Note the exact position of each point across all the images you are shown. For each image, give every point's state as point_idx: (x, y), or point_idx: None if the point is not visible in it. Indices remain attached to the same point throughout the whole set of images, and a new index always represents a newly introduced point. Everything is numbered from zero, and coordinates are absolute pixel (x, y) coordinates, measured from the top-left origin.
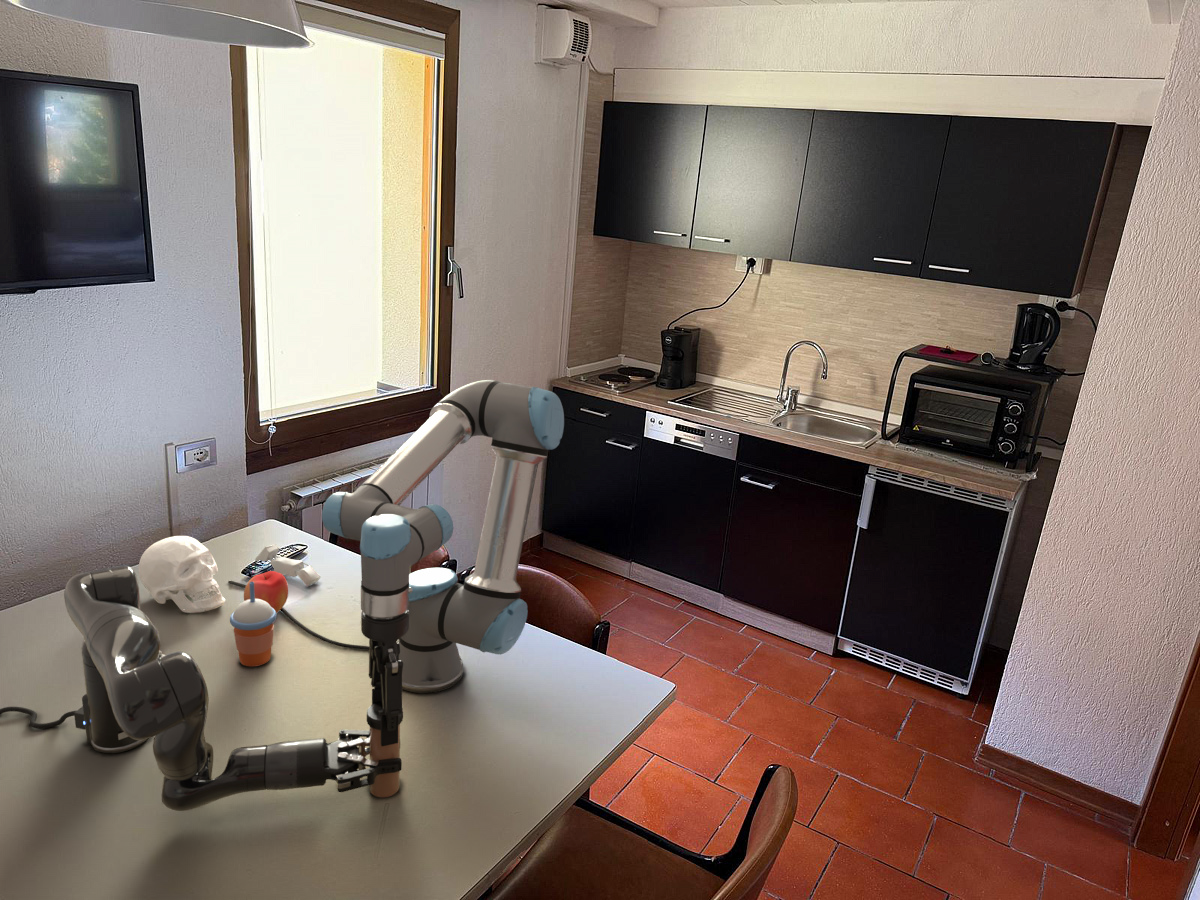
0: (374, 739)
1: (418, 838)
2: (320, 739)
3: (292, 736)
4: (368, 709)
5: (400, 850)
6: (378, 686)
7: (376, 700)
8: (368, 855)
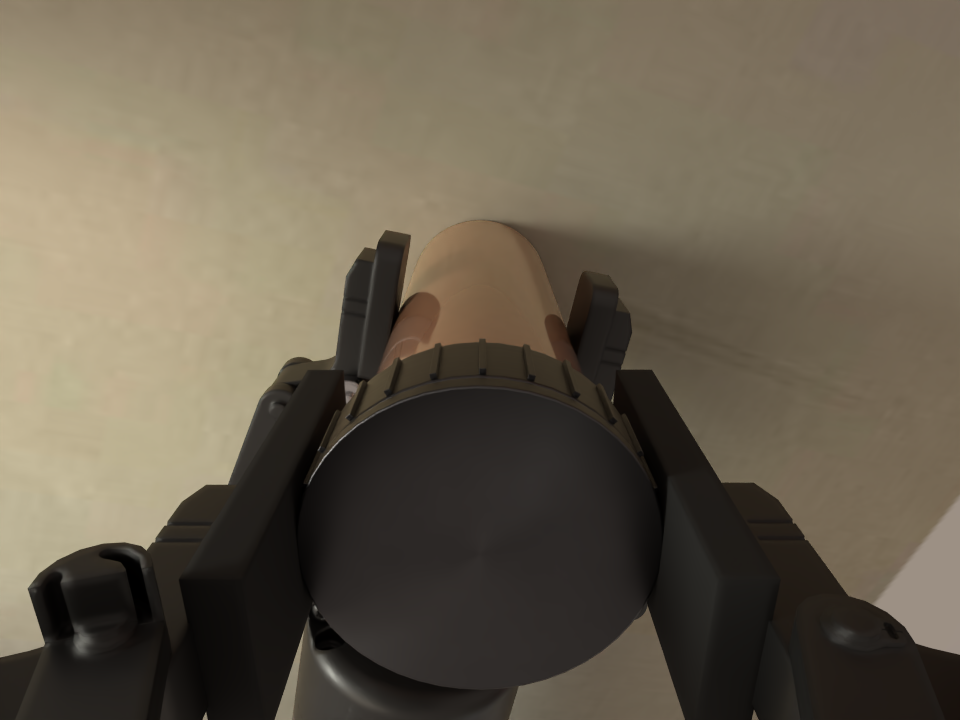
0: None
1: (858, 227)
2: (368, 717)
3: (30, 557)
4: (414, 673)
5: (879, 313)
6: (196, 700)
7: (297, 603)
8: (833, 426)
